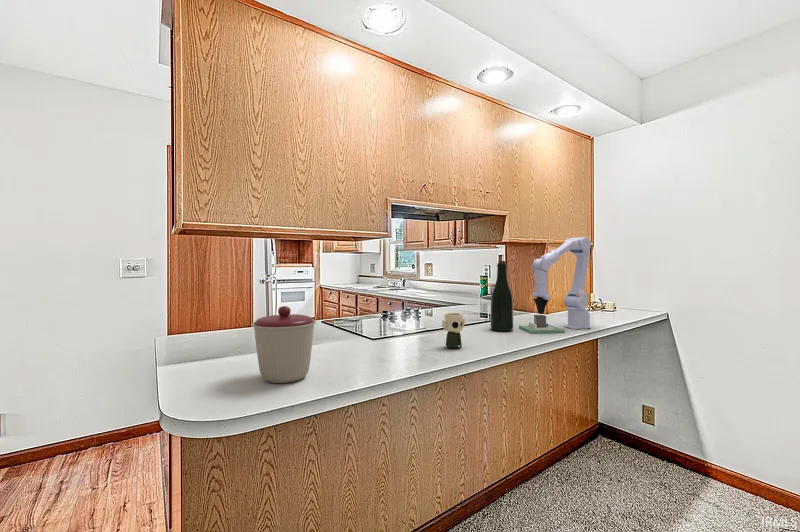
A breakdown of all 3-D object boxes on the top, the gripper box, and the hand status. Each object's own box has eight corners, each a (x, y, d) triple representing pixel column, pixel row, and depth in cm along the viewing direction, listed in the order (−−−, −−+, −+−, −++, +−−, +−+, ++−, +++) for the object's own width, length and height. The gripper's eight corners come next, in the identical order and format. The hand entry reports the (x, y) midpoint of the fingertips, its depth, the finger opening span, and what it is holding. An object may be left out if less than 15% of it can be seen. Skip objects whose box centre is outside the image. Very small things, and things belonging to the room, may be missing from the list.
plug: (545, 327, 193) (546, 314, 193) (549, 328, 189) (549, 315, 189) (533, 327, 193) (533, 314, 193) (536, 329, 189) (536, 316, 189)
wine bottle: (486, 329, 198) (486, 260, 197) (505, 327, 201) (505, 260, 200) (497, 332, 188) (498, 260, 187) (517, 331, 191) (517, 260, 190)
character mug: (448, 351, 152) (448, 316, 152) (436, 347, 158) (436, 314, 158) (470, 347, 158) (470, 314, 158) (458, 344, 164) (458, 311, 164)
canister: (292, 366, 132) (291, 301, 132) (329, 376, 121) (328, 305, 120) (239, 379, 118) (238, 306, 118) (276, 392, 107) (275, 312, 106)
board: (550, 327, 201) (550, 320, 201) (564, 332, 187) (564, 324, 187) (518, 328, 199) (518, 320, 199) (530, 333, 185) (530, 325, 185)
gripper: (526, 283, 197) (526, 311, 198) (539, 285, 183) (539, 316, 183) (540, 283, 198) (540, 311, 198) (554, 285, 184) (554, 315, 184)
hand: (540, 313), depth 191 cm, fingers closed
